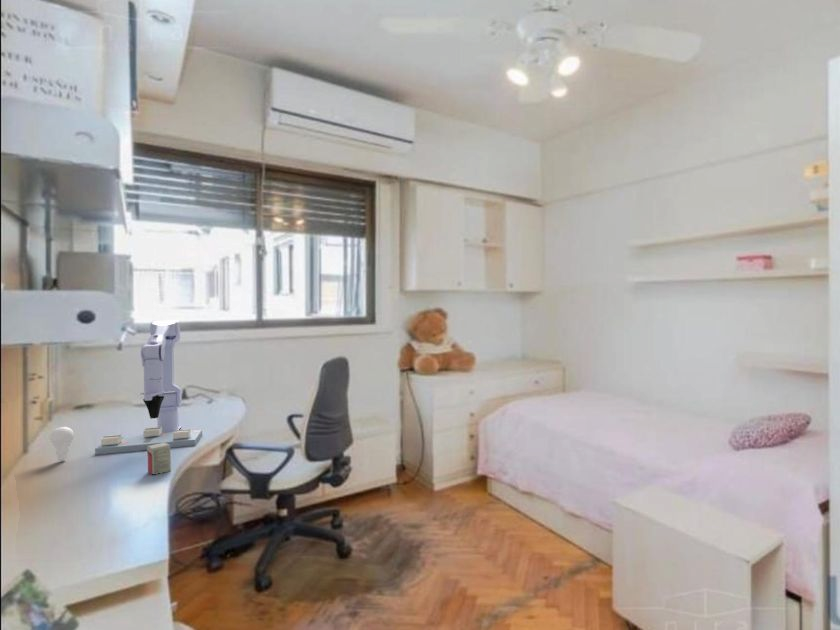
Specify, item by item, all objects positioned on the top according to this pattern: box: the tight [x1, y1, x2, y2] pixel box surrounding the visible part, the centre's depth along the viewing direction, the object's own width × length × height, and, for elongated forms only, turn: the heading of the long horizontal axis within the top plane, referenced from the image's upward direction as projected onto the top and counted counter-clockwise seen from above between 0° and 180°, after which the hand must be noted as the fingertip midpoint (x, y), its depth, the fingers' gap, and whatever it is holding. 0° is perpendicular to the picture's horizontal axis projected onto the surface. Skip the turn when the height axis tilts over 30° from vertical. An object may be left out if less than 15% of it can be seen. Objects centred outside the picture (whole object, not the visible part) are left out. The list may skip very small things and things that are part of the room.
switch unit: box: [94, 429, 203, 456], centre depth 166 cm, size 15×30×2 cm, turn 107°
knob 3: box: [173, 428, 192, 439], centre depth 166 cm, size 4×5×2 cm
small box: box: [146, 443, 172, 475], centre depth 136 cm, size 5×4×8 cm
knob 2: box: [143, 426, 162, 437], centre depth 170 cm, size 4×5×2 cm
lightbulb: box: [49, 426, 75, 462], centre depth 148 cm, size 6×6×11 cm
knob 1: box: [100, 434, 123, 446], centre depth 160 cm, size 4×5×2 cm
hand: (154, 417), depth 161 cm, fingers closed
